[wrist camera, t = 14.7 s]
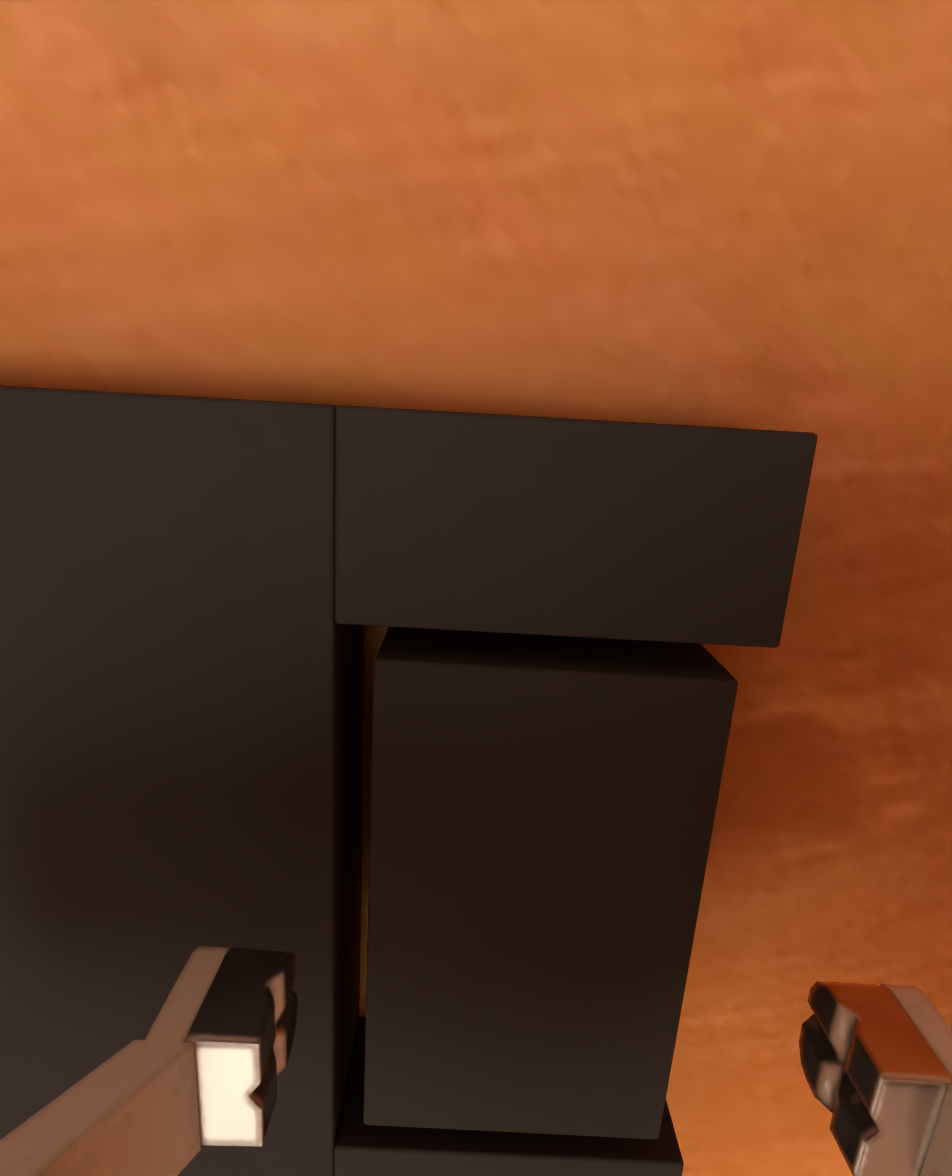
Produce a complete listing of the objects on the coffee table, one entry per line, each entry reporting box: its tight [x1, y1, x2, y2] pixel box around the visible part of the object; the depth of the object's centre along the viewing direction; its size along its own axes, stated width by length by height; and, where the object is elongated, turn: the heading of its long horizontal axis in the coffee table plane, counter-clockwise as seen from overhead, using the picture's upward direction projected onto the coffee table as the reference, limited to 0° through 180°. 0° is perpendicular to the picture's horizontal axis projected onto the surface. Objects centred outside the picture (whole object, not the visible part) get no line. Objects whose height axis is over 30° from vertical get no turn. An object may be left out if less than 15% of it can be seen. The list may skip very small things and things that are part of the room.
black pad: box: [363, 627, 738, 1139], centre depth 13 cm, size 10×6×3 cm, turn 177°
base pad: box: [0, 385, 817, 1176], centre depth 13 cm, size 18×16×3 cm
